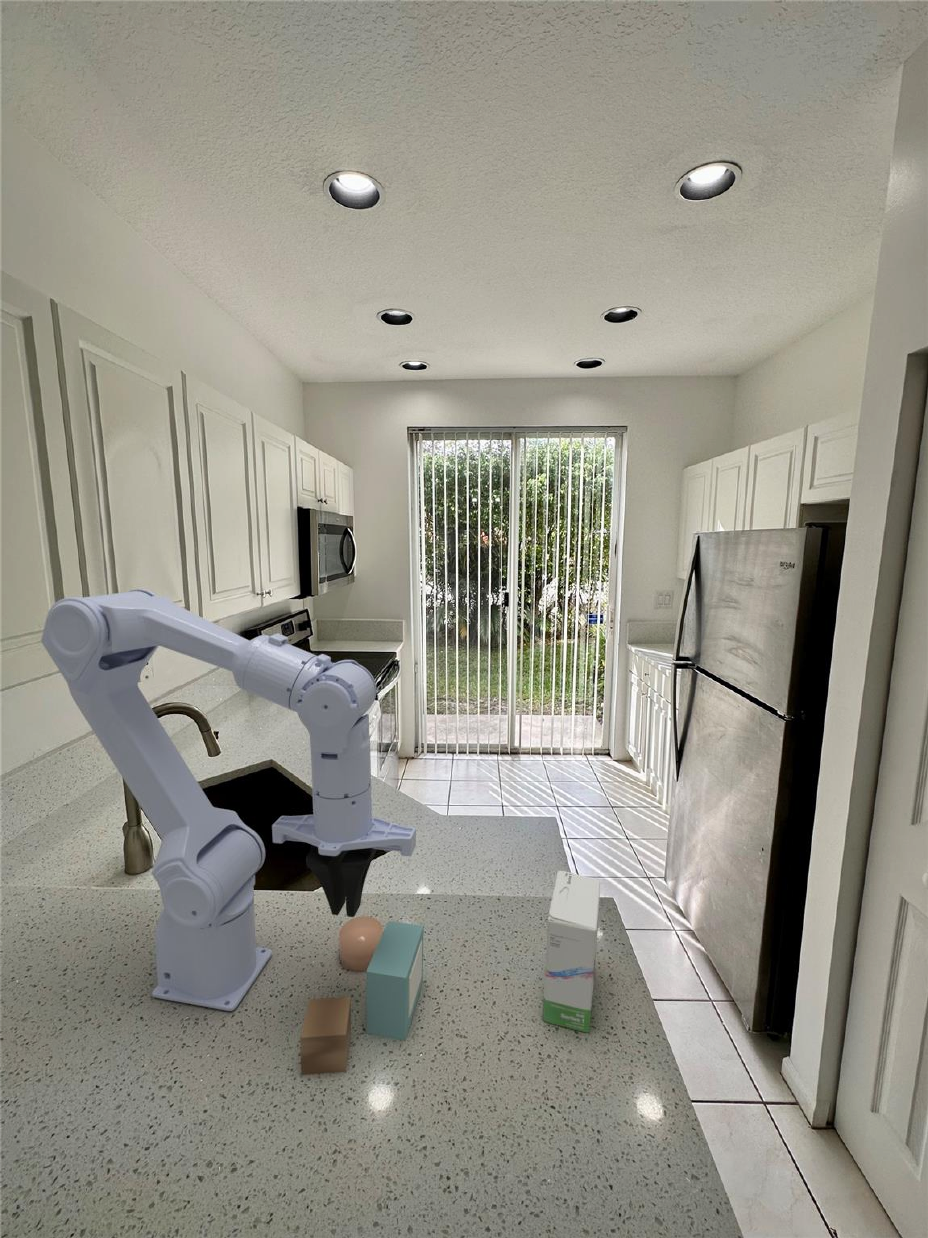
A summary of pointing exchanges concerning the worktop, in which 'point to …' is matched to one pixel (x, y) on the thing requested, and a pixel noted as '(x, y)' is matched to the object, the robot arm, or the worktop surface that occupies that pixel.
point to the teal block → (394, 980)
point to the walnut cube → (326, 1036)
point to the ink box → (571, 951)
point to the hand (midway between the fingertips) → (346, 909)
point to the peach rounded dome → (359, 942)
